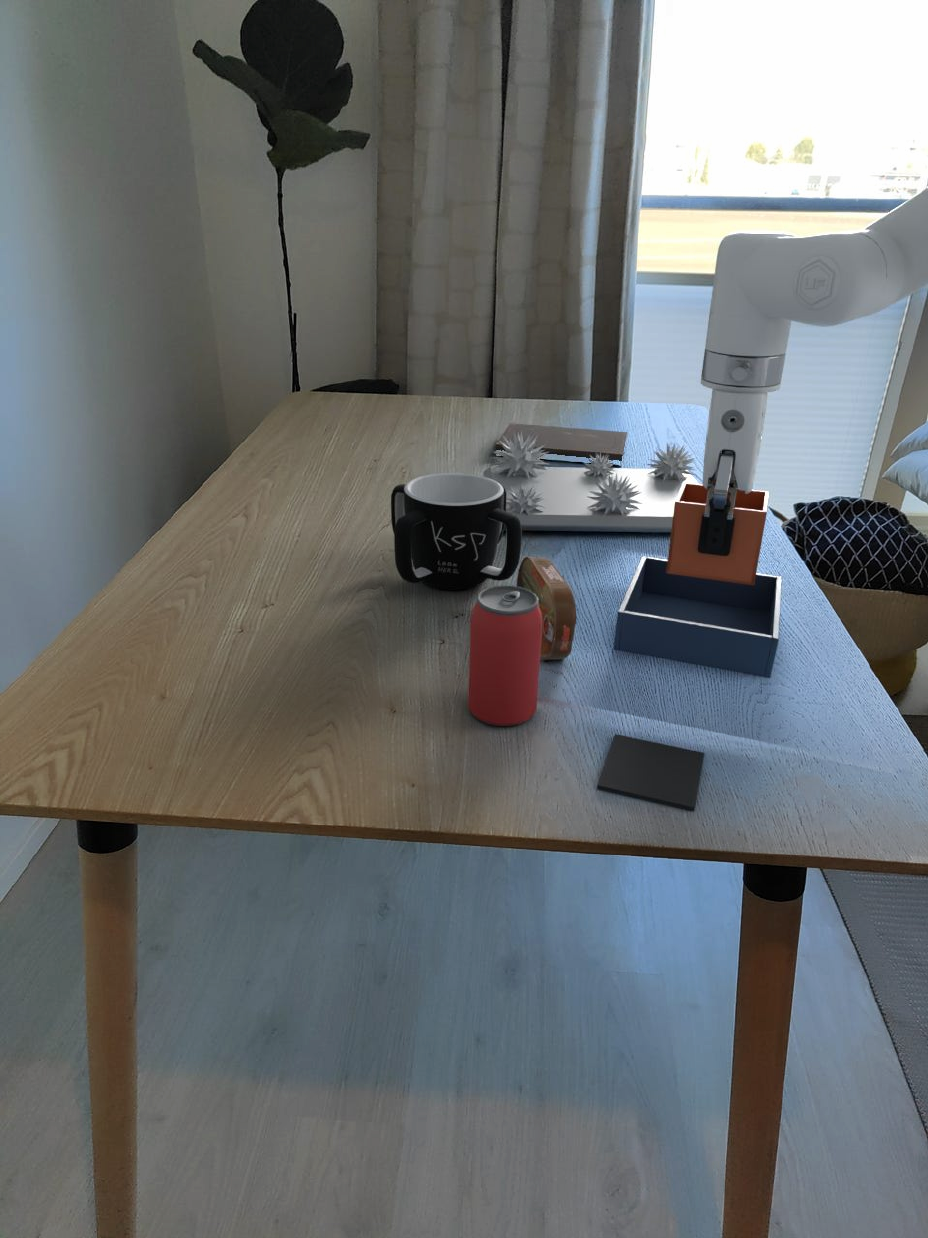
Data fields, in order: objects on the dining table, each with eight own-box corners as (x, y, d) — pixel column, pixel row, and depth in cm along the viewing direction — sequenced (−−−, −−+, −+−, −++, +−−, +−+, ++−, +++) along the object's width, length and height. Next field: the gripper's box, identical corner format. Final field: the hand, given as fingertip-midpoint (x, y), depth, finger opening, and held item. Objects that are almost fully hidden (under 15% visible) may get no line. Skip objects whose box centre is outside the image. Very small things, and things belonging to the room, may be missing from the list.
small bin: (757, 561, 94) (769, 491, 91) (754, 585, 88) (766, 512, 85) (674, 550, 97) (682, 482, 93) (665, 573, 91) (674, 501, 87)
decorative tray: (490, 537, 121) (492, 469, 117) (482, 480, 144) (484, 421, 140) (733, 540, 122) (745, 472, 118) (687, 482, 145) (696, 424, 141)
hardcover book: (509, 434, 170) (510, 423, 169) (626, 443, 166) (627, 432, 165) (494, 456, 156) (494, 444, 155) (621, 467, 152) (622, 454, 151)
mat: (703, 756, 76) (704, 752, 76) (694, 811, 69) (694, 807, 69) (614, 737, 78) (615, 733, 78) (597, 789, 72) (597, 785, 72)
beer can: (547, 704, 83) (556, 593, 78) (516, 737, 78) (523, 621, 73) (488, 685, 86) (493, 576, 80) (455, 716, 81) (457, 602, 75)
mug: (382, 603, 102) (380, 508, 96) (393, 551, 116) (392, 465, 111) (519, 606, 102) (524, 511, 96) (513, 554, 116) (518, 468, 111)
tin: (512, 610, 101) (516, 544, 97) (538, 609, 101) (543, 543, 98) (546, 676, 88) (552, 602, 84) (575, 674, 88) (582, 600, 84)
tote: (774, 615, 101) (782, 576, 99) (769, 682, 88) (778, 639, 85) (637, 593, 106) (642, 555, 104) (612, 653, 92) (617, 611, 90)
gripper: (780, 390, 75) (748, 576, 83) (784, 358, 89) (756, 518, 97) (693, 384, 77) (670, 565, 85) (710, 353, 92) (689, 510, 100)
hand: (716, 539), depth 91 cm, fingers closed on small bin, 7 cm apart
